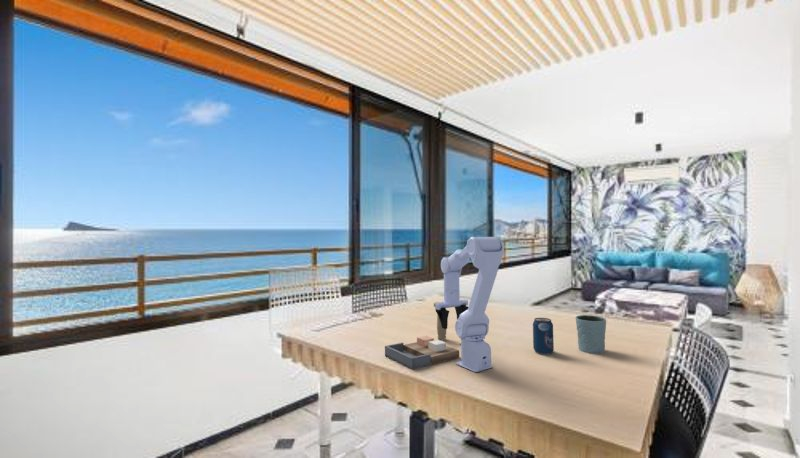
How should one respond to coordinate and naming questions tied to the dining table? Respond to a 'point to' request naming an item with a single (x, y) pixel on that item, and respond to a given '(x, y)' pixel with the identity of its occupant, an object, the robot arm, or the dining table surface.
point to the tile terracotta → (424, 340)
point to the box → (406, 356)
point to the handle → (440, 328)
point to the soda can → (543, 336)
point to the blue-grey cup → (591, 333)
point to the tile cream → (437, 345)
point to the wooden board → (432, 352)
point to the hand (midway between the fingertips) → (452, 326)
